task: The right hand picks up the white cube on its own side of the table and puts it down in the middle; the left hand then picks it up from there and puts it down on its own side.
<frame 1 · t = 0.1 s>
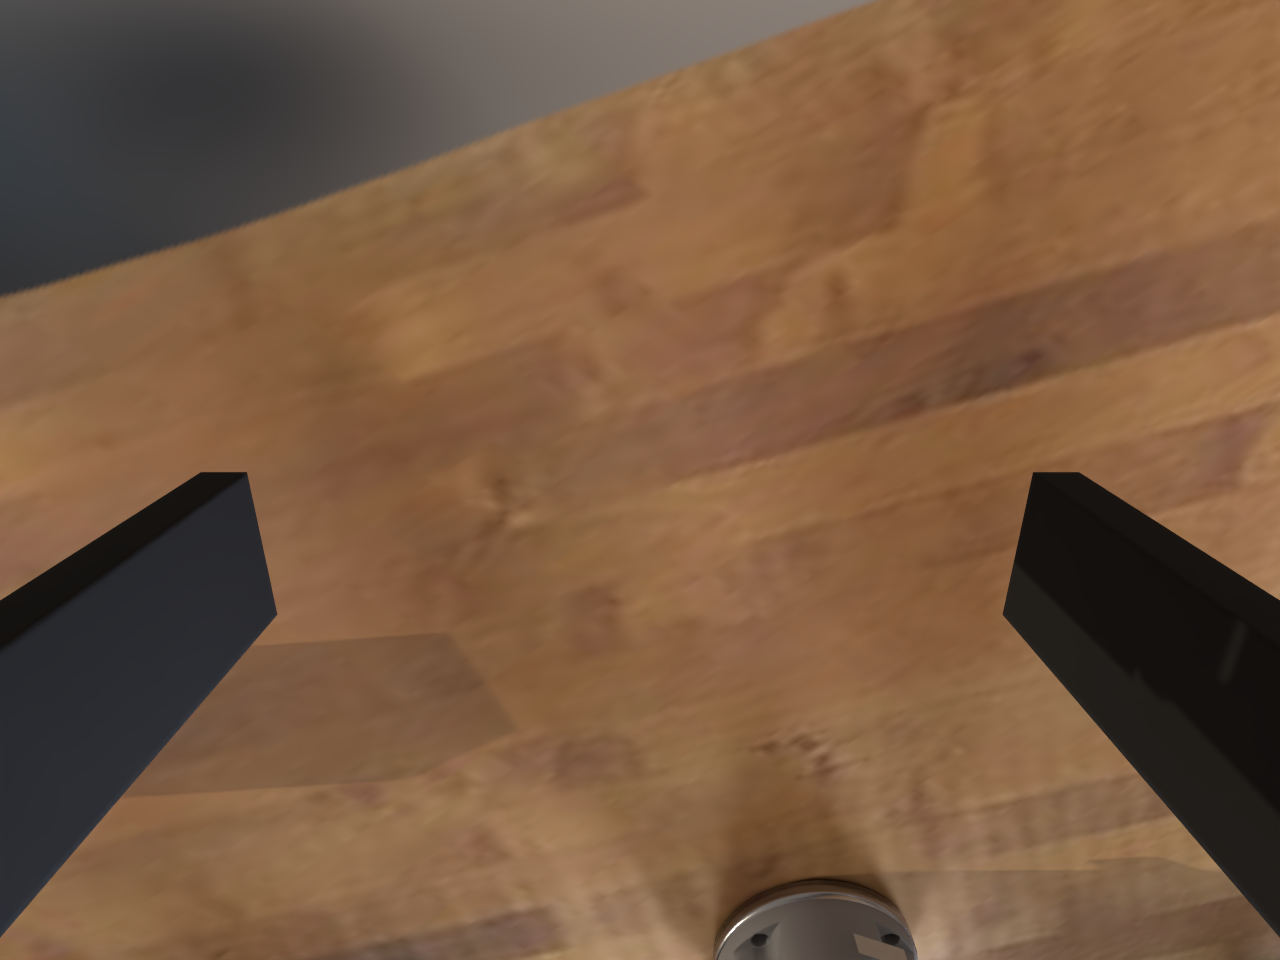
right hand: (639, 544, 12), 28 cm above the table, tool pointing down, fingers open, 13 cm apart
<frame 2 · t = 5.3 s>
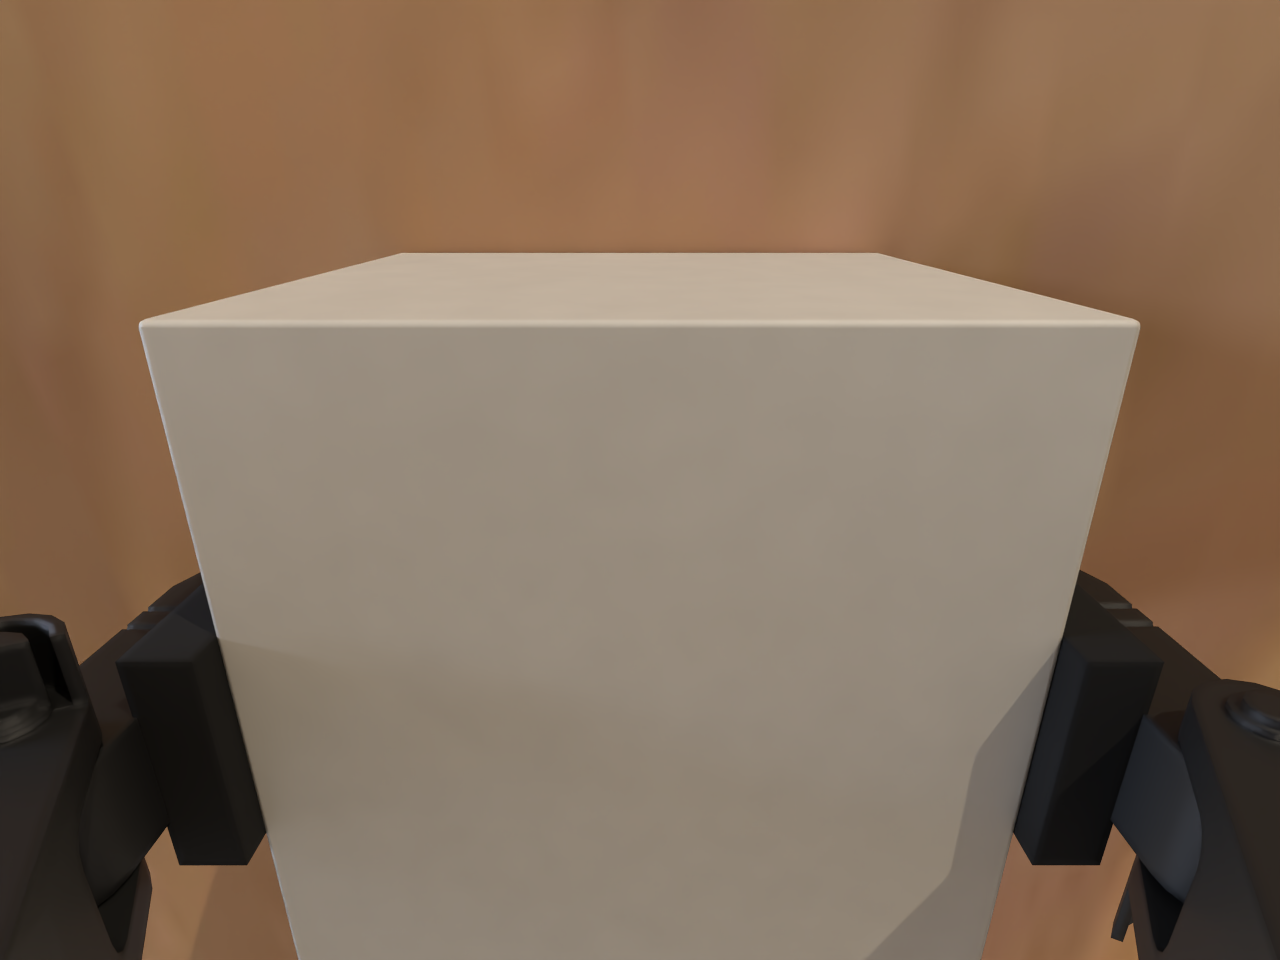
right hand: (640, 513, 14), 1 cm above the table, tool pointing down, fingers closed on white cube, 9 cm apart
white cube: (639, 485, 15), on the table, touching right hand
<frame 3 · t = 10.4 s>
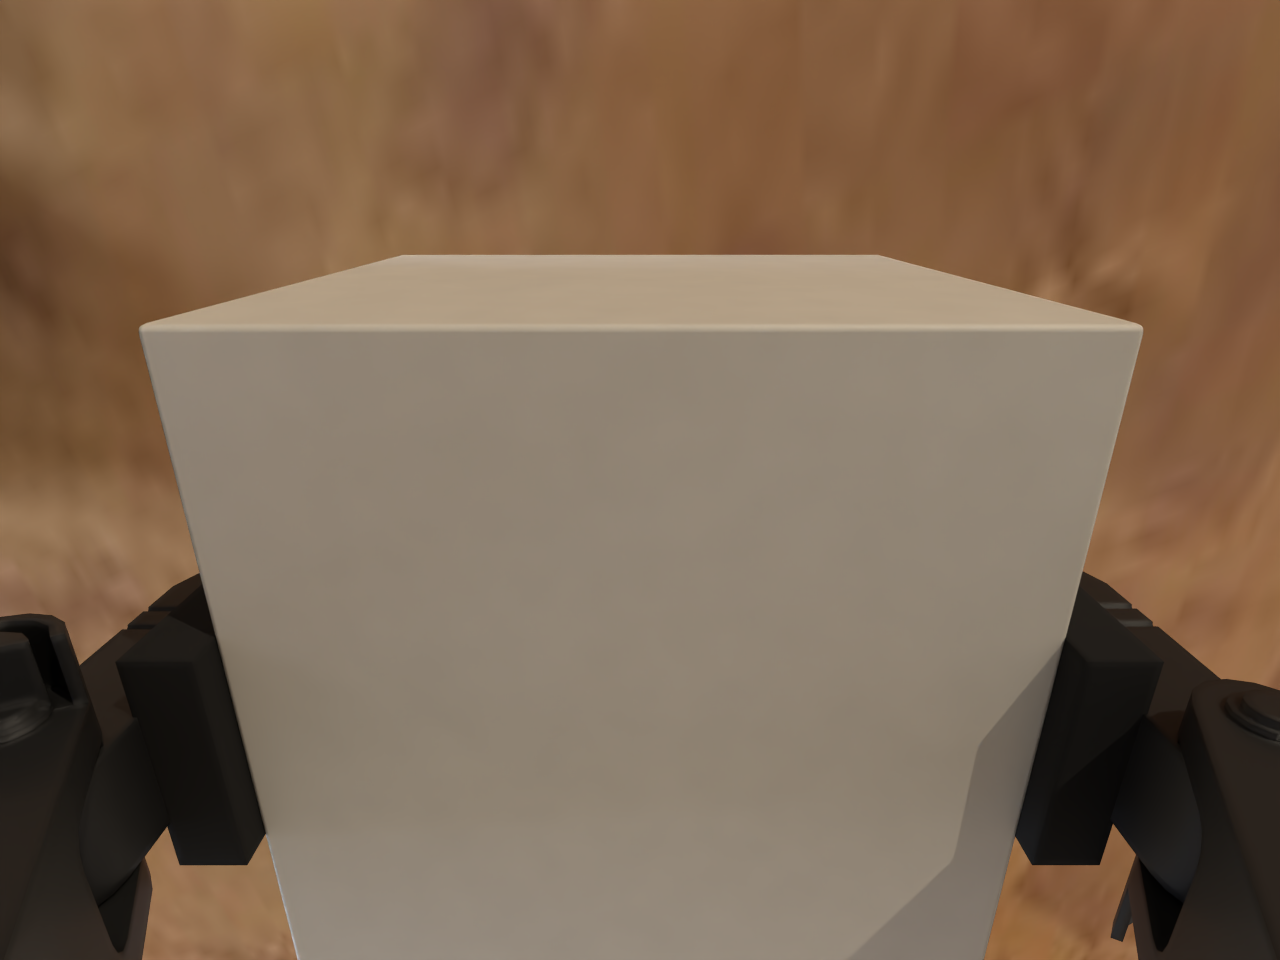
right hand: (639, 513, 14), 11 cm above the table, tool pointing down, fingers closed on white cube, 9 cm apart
white cube: (640, 487, 15), point 10 cm above the table, touching right hand
when the right hand's fingers open (3 cm above the table, at t = 15.5 s): white cube drops 2 cm, on the table.
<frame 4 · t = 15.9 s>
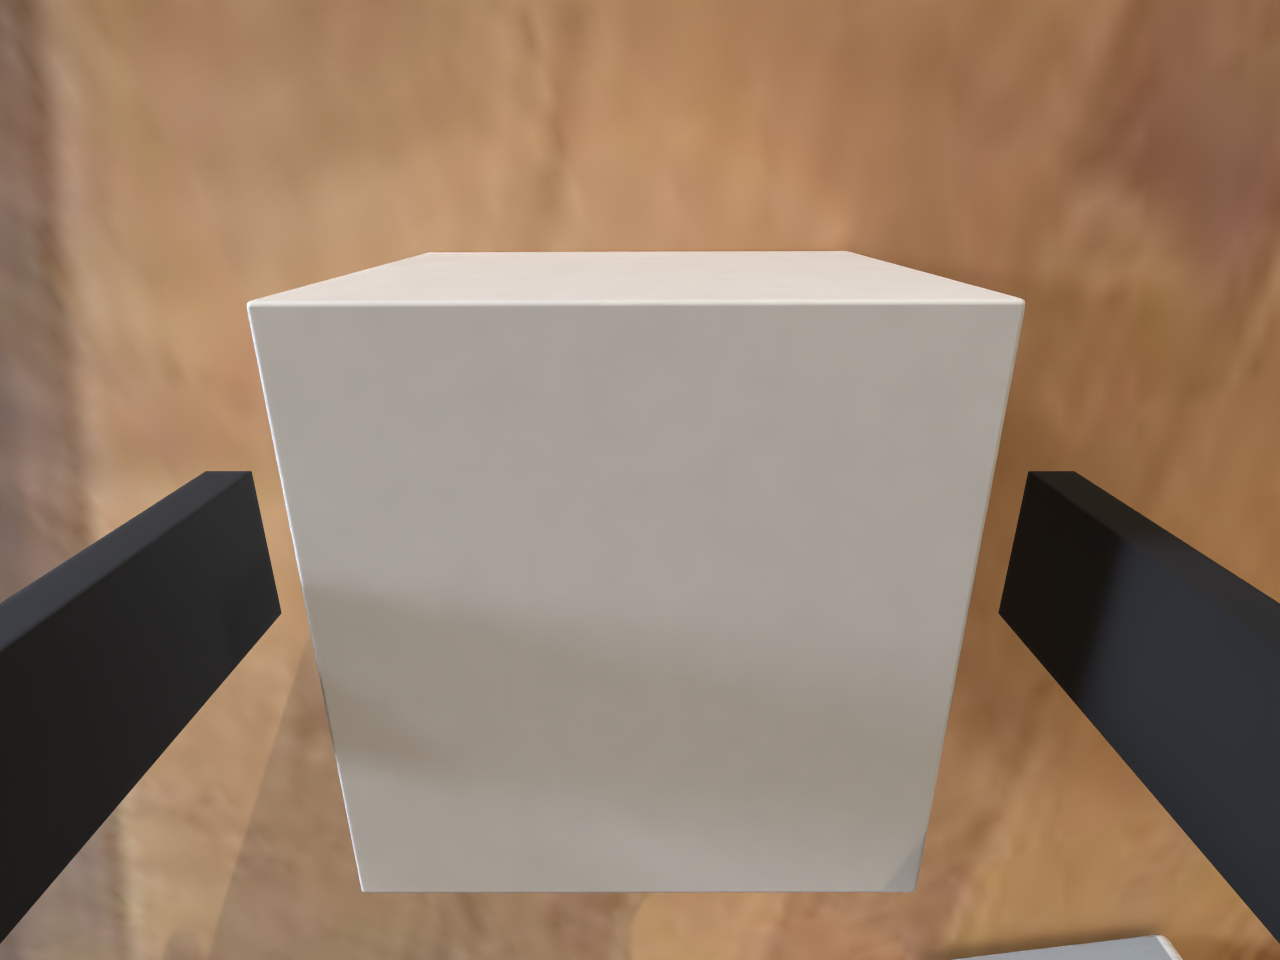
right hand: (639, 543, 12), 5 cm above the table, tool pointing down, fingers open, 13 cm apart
white cube: (638, 459, 17), on the table
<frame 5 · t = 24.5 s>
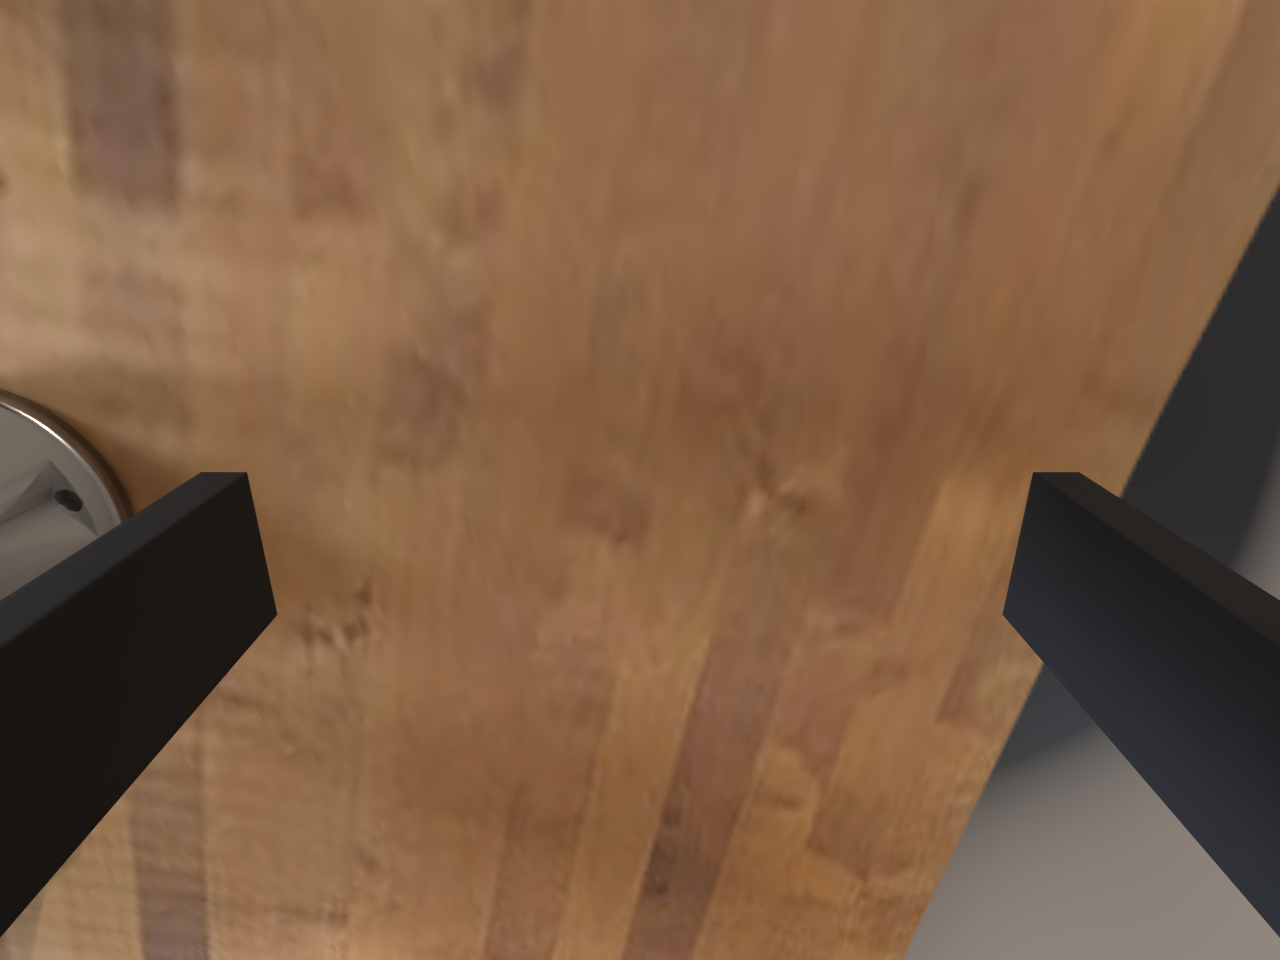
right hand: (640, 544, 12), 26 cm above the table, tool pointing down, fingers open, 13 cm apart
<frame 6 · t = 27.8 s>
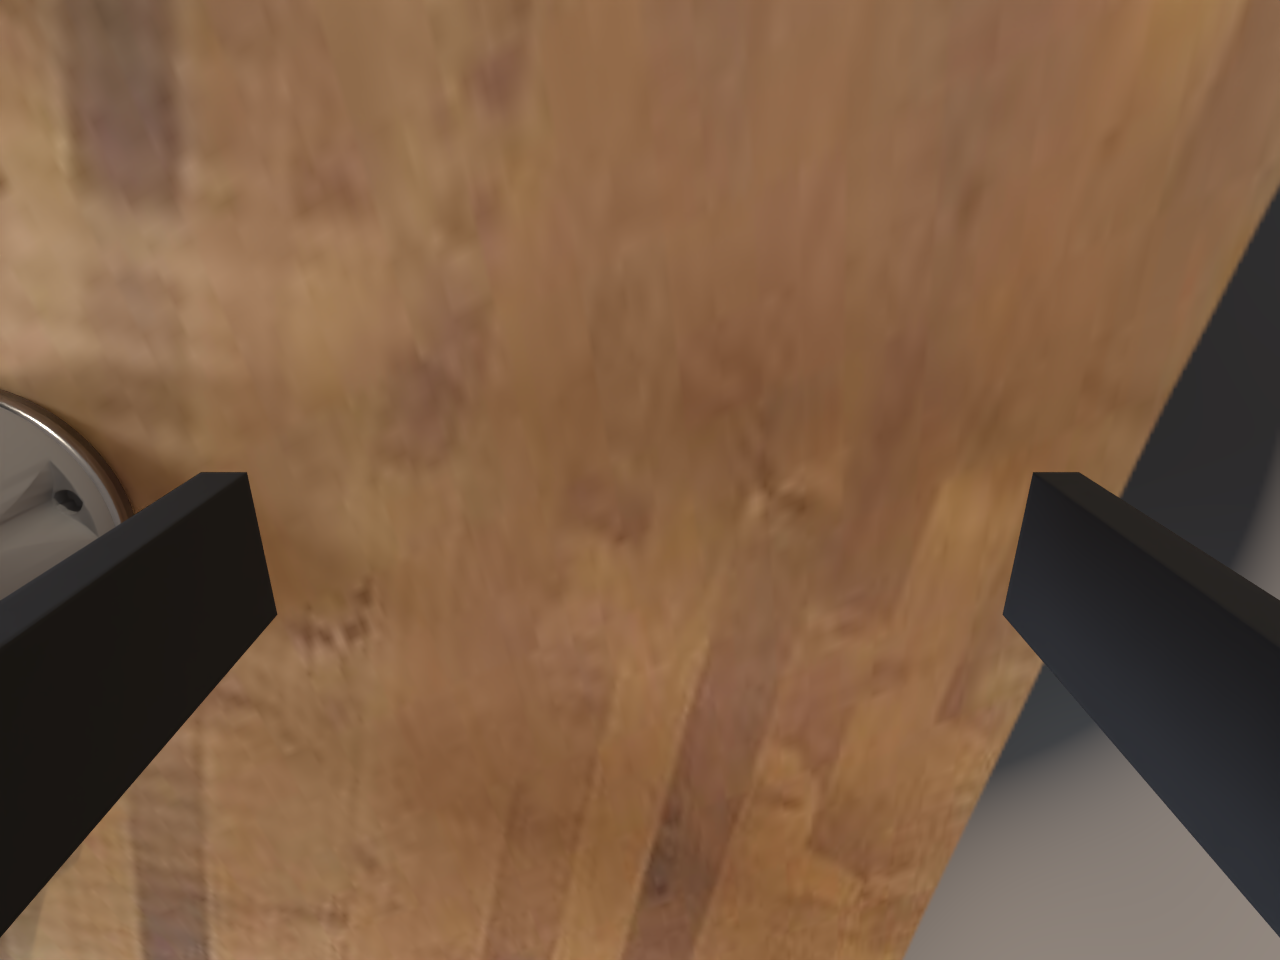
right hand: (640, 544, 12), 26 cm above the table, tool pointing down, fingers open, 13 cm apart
when the left hand's fingers open (3 cm above the table, at t = 30.9 s): white cube drops 2 cm, on the table.
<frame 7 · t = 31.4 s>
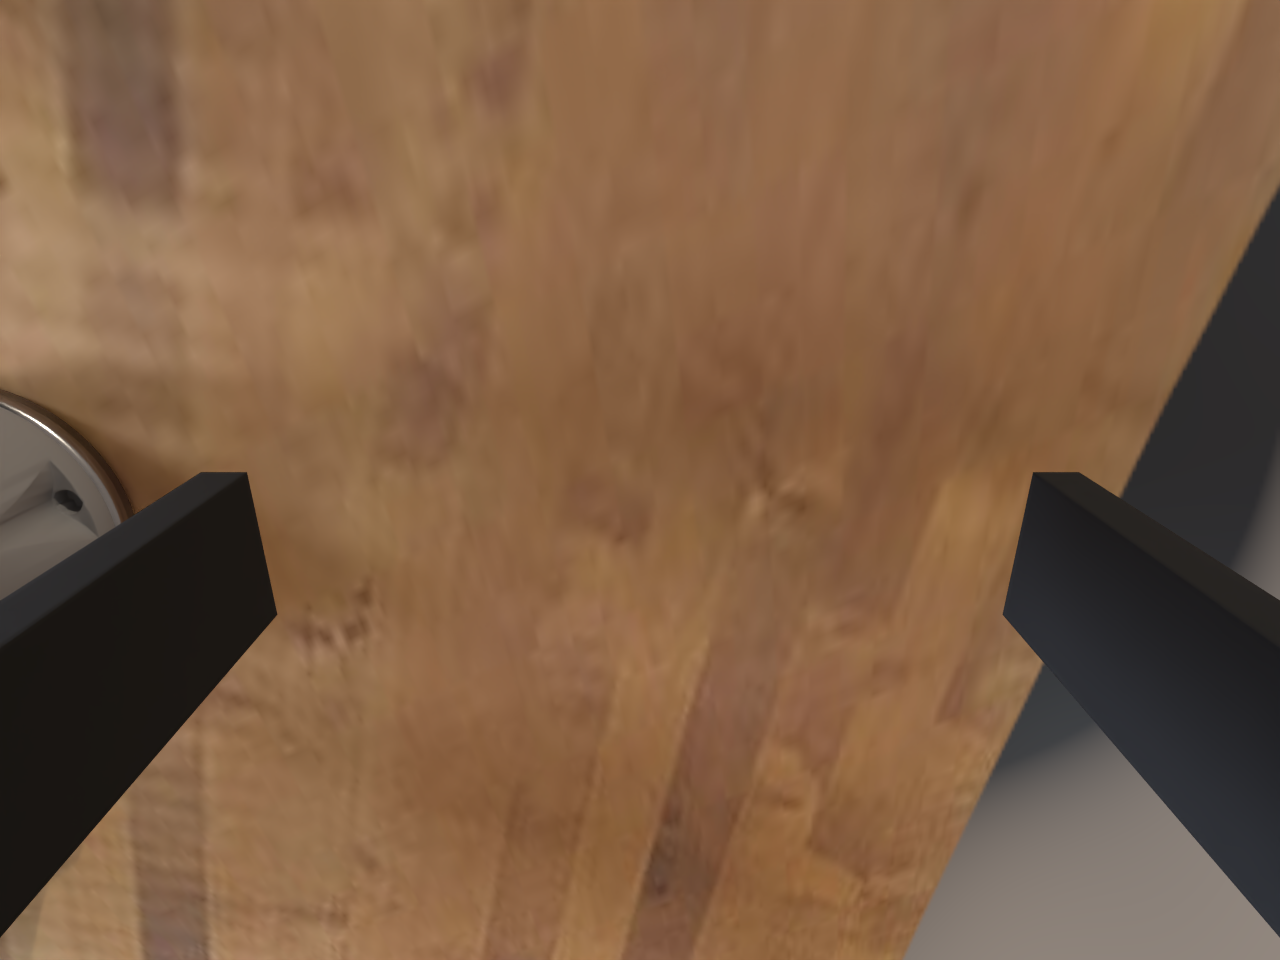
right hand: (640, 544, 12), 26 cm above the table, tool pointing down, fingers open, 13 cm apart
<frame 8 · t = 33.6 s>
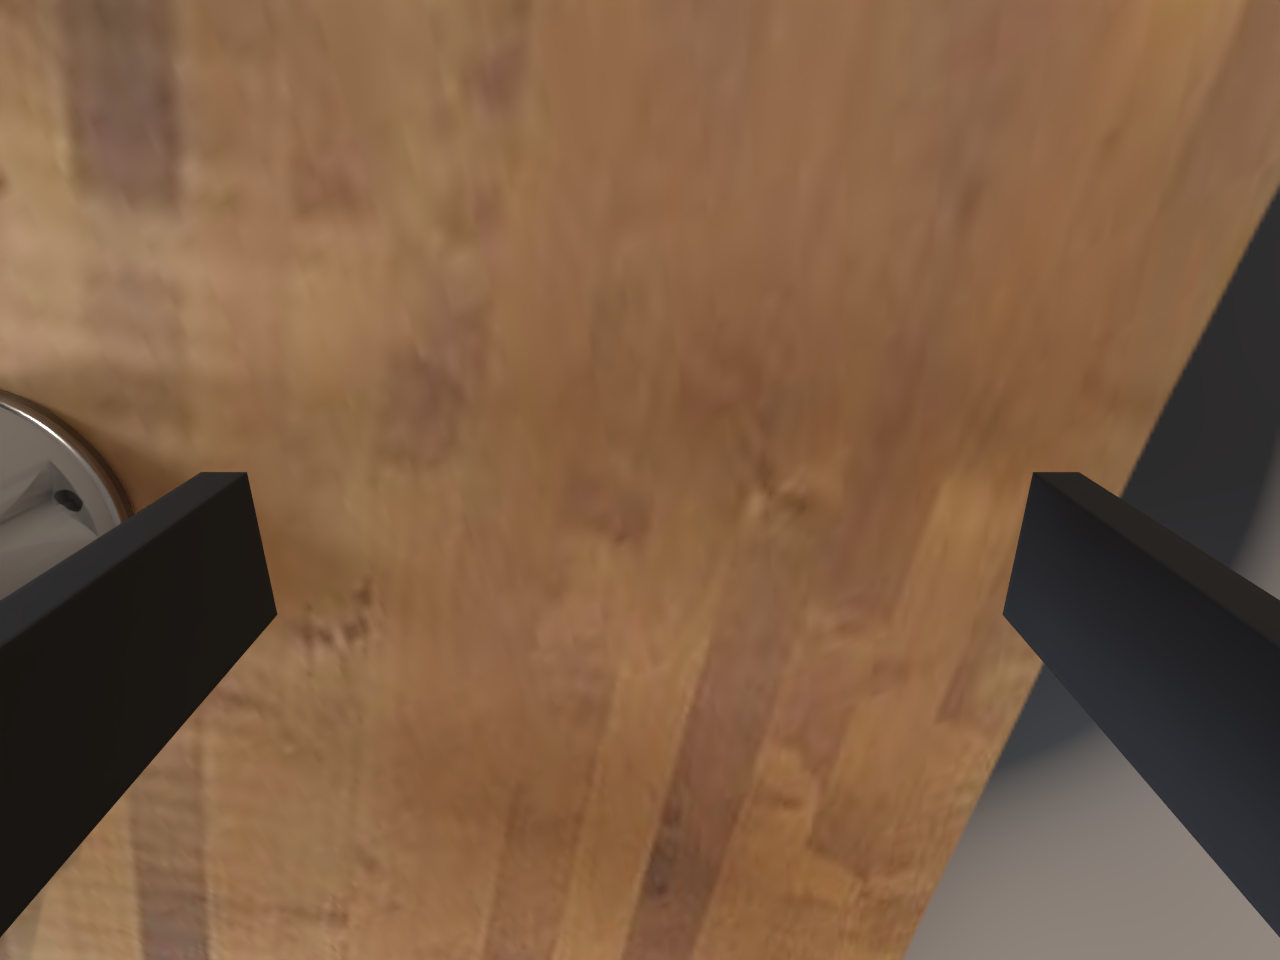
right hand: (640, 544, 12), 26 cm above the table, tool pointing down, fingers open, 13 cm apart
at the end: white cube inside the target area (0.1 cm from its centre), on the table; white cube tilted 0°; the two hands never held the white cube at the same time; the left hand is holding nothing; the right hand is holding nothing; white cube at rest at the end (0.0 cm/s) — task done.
